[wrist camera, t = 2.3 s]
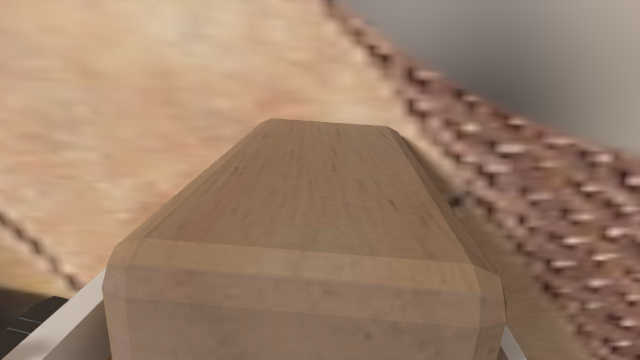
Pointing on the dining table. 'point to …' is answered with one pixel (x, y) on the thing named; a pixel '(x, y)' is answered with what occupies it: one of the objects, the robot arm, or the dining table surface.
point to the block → (305, 259)
